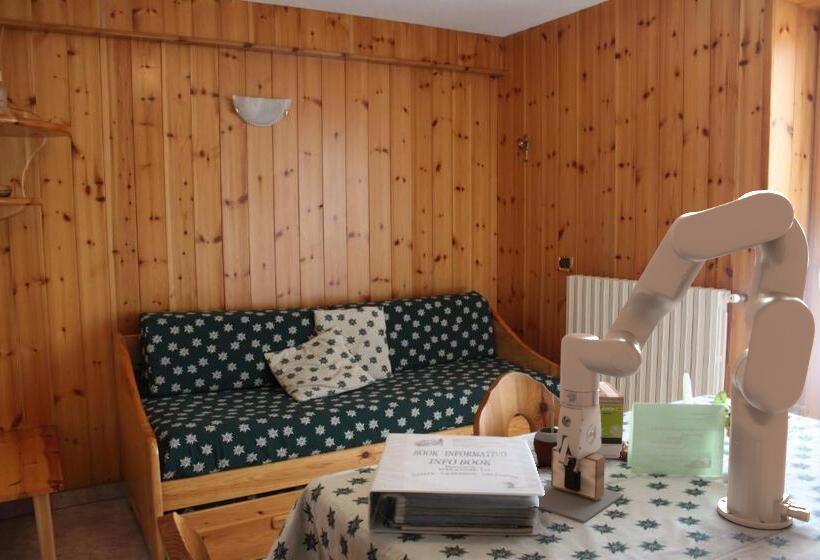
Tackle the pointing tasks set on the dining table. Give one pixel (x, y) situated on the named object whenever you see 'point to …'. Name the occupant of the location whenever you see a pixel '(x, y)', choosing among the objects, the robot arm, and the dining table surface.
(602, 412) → the tea box
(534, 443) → the mate gourd
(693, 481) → the dining table surface
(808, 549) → the dining table surface
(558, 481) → the slab
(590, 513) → the mat
